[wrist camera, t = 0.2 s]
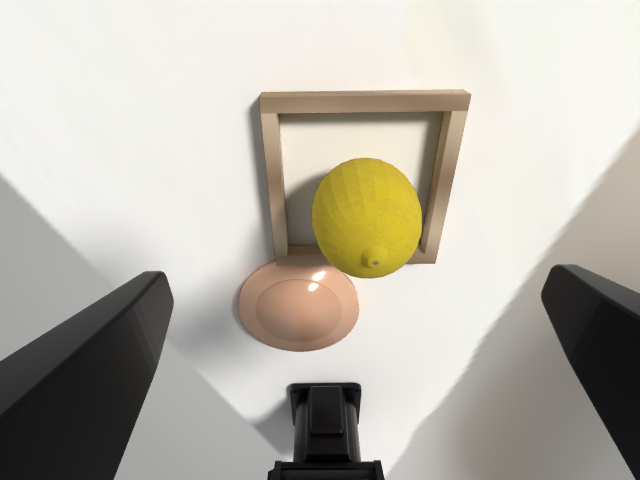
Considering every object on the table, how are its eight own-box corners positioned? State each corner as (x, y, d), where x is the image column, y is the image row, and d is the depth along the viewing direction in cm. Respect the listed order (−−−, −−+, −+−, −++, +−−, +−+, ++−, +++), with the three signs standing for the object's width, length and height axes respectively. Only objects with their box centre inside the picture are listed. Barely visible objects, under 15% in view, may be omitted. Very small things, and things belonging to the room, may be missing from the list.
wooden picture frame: (430, 252, 24) (435, 263, 23) (277, 255, 24) (276, 265, 23) (463, 89, 19) (471, 94, 18) (261, 92, 19) (258, 97, 18)
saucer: (355, 343, 30) (356, 352, 29) (247, 344, 30) (245, 353, 29) (361, 256, 25) (362, 264, 24) (231, 257, 25) (229, 266, 24)
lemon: (297, 201, 22) (289, 285, 16) (339, 121, 20) (351, 181, 13) (373, 234, 24) (395, 324, 17) (421, 163, 21) (471, 237, 14)
